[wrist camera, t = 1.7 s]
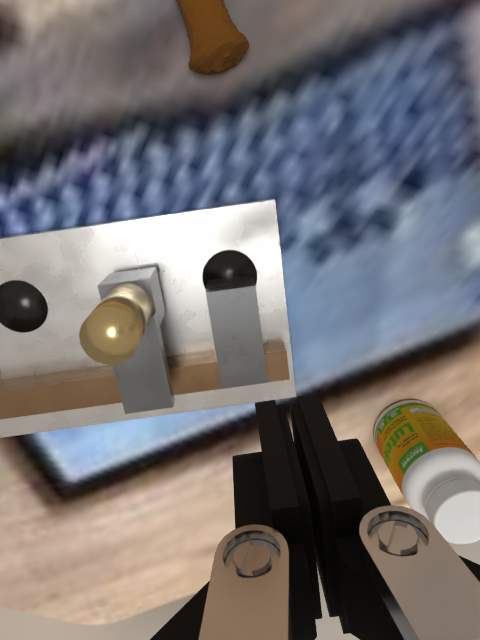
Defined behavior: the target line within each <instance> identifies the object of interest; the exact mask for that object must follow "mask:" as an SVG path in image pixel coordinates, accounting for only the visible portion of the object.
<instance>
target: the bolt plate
mask: <svg viewBox="0 0 480 640" xmlns="http://www.w3.org/2000/svg"><path fill="white" fill-rule="evenodd" d="M151 267H156V268H157V273H158V278H159V283H160V288H161V293H162V298H163V303H164V308H165V313H164V316H163V319H162V321H161V324H160V330H161V335H162V339H163V344H164V349H165V354H166V359H167V364H168V368H169V373H170V378H171V383H172V388H173V392H174V397H175V401H174V406H173V407H172V408H165V409H158V410H151V411H143V412H136V413H129V414H125V412H124V408H123V404H122V400H121V396H120V392H119V388H118V384H117V380H116V376H115V372H114V368H113V365H106V364H102V363H99V362H97V361H95V360H93V359H92V358H90V357H89V356H88V355H87V354H86V353H85V351H84V350H83V348H82V346H81V344H80V339H79V332H80V328H81V325H82V323H83V322H84V321H85V319H86V318H87V317H88V316H89V315H90V314H91V312H92V311H93V310H94V309H95V308H96V307H97V305H98V304H99V303H100V302H101V298H100V294H99V290H98V285H99V284H100V283H101V282H102V281H103V280H104V279H105V278H106V277H107V276H108V275H109V273H116V272H123V271H130V270H137V269H144V268H151ZM290 397H296V390H295V380H294V371H293V362H292V352H291V343H290V334H289V324H288V315H287V306H286V296H285V287H284V278H283V268H282V259H281V250H280V240H279V231H278V222H277V212H276V203H275V199H274V198H267V199H260V200H253V201H246V202H239V203H232V204H225V205H218V206H211V207H204V208H198V209H191V210H184V211H177V212H170V213H163V214H156V215H149V216H142V217H135V218H128V219H121V220H114V221H107V222H100V223H93V224H86V225H79V226H72V227H65V228H58V229H51V230H44V231H37V232H30V233H23V234H16V235H9V236H2V237H0V438H1V437H8V436H16V435H23V434H30V433H37V432H44V431H52V430H59V429H66V428H73V427H81V426H88V425H95V424H102V423H110V422H117V421H124V420H131V419H138V418H146V417H153V416H160V415H167V414H175V413H182V412H189V411H196V410H204V409H211V408H218V407H225V406H233V405H240V404H247V403H254V402H261V401H269V400H276V399H283V398H290Z"/></svg>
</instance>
